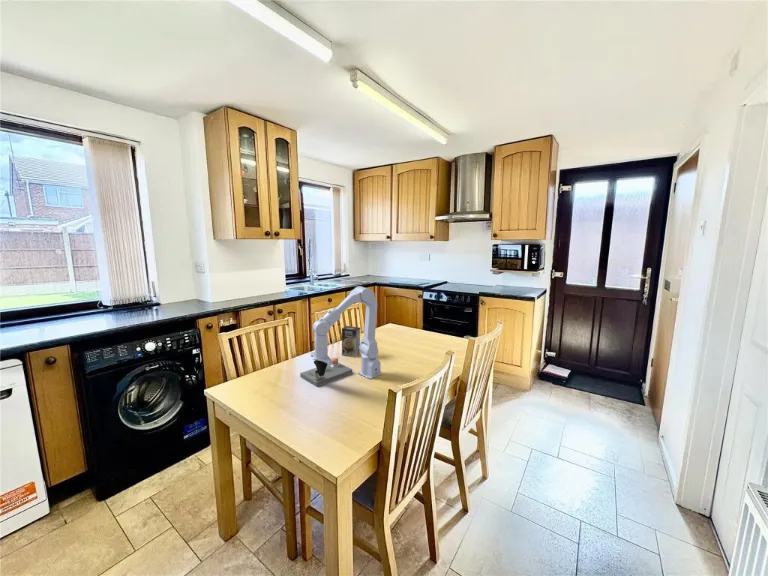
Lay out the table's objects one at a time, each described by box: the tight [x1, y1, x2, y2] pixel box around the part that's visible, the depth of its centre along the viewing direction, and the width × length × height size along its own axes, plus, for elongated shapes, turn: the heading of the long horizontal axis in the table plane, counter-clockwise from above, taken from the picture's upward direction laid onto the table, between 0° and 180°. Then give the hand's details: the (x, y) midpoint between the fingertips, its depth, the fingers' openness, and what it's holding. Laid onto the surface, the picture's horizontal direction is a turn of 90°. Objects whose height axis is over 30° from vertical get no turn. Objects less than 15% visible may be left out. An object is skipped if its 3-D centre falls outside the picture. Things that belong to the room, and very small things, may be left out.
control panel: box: [299, 362, 353, 388], centre depth 153 cm, size 14×21×2 cm, turn 135°
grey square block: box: [313, 369, 324, 380], centre depth 144 cm, size 3×4×4 cm
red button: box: [330, 357, 339, 364], centre depth 159 cm, size 4×4×2 cm
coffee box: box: [341, 325, 361, 358], centre depth 179 cm, size 9×6×16 cm
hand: (321, 375), depth 142 cm, fingers closed
